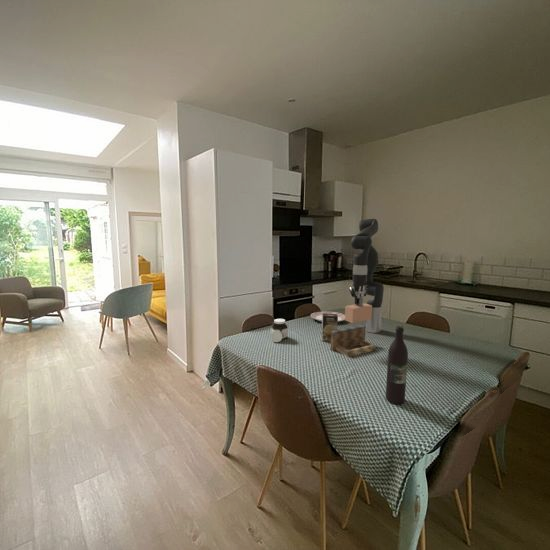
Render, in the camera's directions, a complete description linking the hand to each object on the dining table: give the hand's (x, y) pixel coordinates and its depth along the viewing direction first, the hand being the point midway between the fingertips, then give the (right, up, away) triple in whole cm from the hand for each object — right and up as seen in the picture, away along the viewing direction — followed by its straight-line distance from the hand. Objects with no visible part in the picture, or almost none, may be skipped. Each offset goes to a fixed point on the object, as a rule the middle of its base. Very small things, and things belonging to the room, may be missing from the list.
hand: (358, 304), depth 163 cm
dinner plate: (-5, -18, +63) cm, 66 cm away
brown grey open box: (-1, -26, +5) cm, 27 cm away
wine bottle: (+2, -34, -45) cm, 57 cm away
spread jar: (-44, -24, +21) cm, 54 cm away
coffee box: (-13, -24, +20) cm, 34 cm away
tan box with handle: (0, -9, +1) cm, 9 cm away
